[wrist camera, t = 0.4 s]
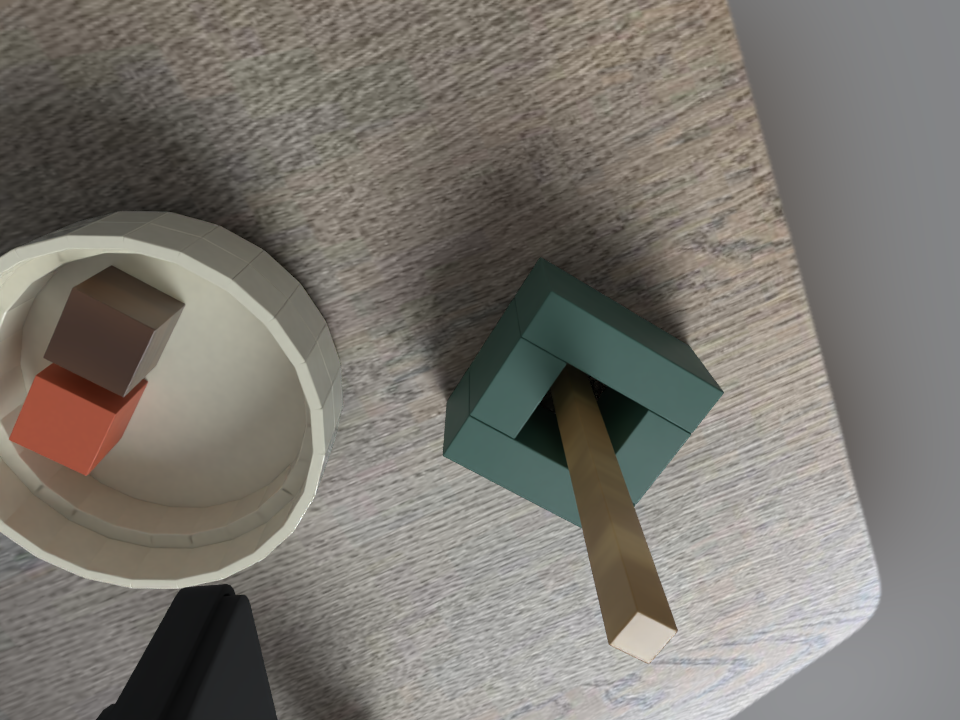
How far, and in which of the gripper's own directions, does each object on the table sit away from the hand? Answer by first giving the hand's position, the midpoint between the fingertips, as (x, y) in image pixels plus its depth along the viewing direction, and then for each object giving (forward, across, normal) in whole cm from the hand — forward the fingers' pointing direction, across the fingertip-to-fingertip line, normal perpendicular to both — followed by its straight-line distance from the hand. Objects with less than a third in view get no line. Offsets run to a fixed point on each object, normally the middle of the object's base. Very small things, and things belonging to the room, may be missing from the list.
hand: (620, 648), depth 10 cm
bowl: (+30, +19, +7) cm, 36 cm away
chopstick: (+30, -2, +9) cm, 32 cm away
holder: (+30, -2, +9) cm, 32 cm away
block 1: (+30, +20, +4) cm, 36 cm away
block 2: (+30, +22, +8) cm, 38 cm away
